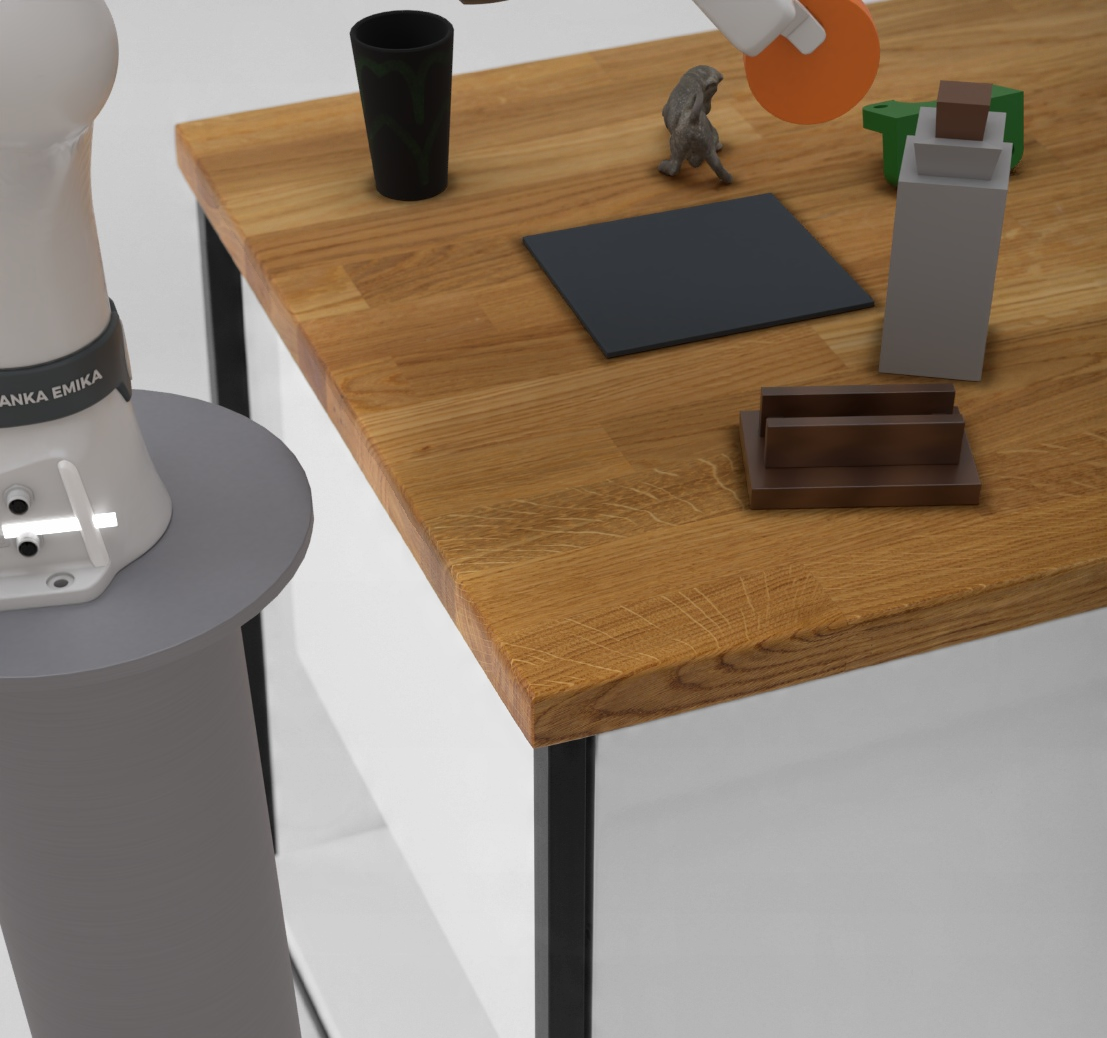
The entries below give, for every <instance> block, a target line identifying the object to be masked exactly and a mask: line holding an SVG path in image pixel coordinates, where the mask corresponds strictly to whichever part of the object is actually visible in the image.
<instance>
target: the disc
mask: <svg viewBox="0 0 1107 1038" xmlns="http://www.w3.org/2000/svg"><path fill="white" fill-rule="evenodd" d="M798 1H799V2H800V3H801V4H802V5H803V6H804V7H806V6H807V7H808V8H809V9H810V10H811V11H812V12H813V13H814V14H815V15H816V17H817V18H819V20H820V21H821V22H822V23H823V26H824V29H825V33H826V38H825V40H824V42H823V43H822V44H820V45H819V46H818V47H817V48H816V49H815V50H814V51H813V52H812V53H811V54H807V55H805V54H802V53H801V52H800V51H799V50H798V49H797V48H796V47H795V46H794V45H793V44H792V43H791V42H790V41H789V40H788V39H787V38H786V37H784V36H782V35H781V34H780V35H779V36H778V37H777V38H776V39H775V40H774V41H773V42H772V43H771V44H769V45H768V46H767V47H766V48H765V49H764V50H763V51H762V52H761V53H759V54H758V55H757V56H754V57H750V56H748V55H746V54H744V53H742V60H743V67H744V72H745V77H746V81H747V85H748V87H749V89H750V92H751V94H752V96H753V97H754V98H755V101H756V102H758V104H759V105H760V107H761V108H763V110H765V111H766V112H767V113H768V114H770V115H772V116H773V117H775V118H777V119H779V120H781V121H783V122H786V123H789V124H795V125H805V126H811V125H820V124H824V123H828V122H832V121H834V120H836V119H838V118H840V117H842V116H843V115H845V114H847V113H848V112H850V111H851V110H852V109H853V108H854V107H856V106H857V105H858V104H859V103H860V102H861V101H862V100H863V99H864V98H865V96H866V95H867V94H868V92H869V90H870V89H871V87H872V85H873V84H874V82H875V79H876V76H877V74H878V71H879V67H880V62H881V61H880V60H881V43H880V39H879V35H878V30H877V27H876V24H875V21H874V18H873V16H872V14H871V12H870V10H869V8H868V6H867V4H865V2H864V1H863V0H798Z"/></svg>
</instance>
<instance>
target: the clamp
mask: <svg viewBox="0 0 1107 1038" xmlns="http://www.w3.org/2000/svg"><path fill="white" fill-rule="evenodd" d="M992 84H993V83H992ZM1024 92H1025V91H1024V90H1020V89H1016V88H1012V87H1007V86H1003V85H999V84H998V85H997V84H993V86H992V94H991V101H990V108H989V112H1003V113H1006V120H1005V129H1004V137H1003V142H1006V143H1013V145H1012V155H1011V164H1010V170H1011V169H1014V168H1015V167H1016V166H1017V165H1018V164H1019V163H1020V161H1022V158H1023V155H1024V150H1025V106H1024V105H1025V93H1024ZM936 105H937V99H936V100H930V101H918V102H917V101H916V102H905V101H904V102H903V101H898V100H895V99H890V100H885V101H880V102H876V103H871V104H867V105H864V106H863V107H862V109H861V111H862V128H863V129H865V130H868V131H872V132H876V133H879V134H881V136H882V137H881V138H882V164H883V166H882V167H883V176H884V179H885V180H886V182H887V183H888V184H889V185H890V186H893V187H896V188H898V181H899V175H900V170H901V165H902V160H903V154H904V149H905V144H906V139H907V135H911V136H915V134H916V128H917V123H918V118H919V112H920V107H933V108H936Z"/></svg>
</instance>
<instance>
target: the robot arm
mask: <svg viewBox="0 0 1107 1038" xmlns="http://www.w3.org/2000/svg"><path fill="white" fill-rule="evenodd" d="M458 1H459V2H460V3H461V4H462V5H463V6H469V5H470V6H471V5H477V6H478V5H488V4H495V3H497V4H498V3H502V2H508V0H458ZM691 1H692V2H693V3H694V4H695V5H696V7H697V8H698V9H700V11H701V12H702V13H703V14H704V15H705V16H706V18H707V19H708V20H709V21H710V22H711V23H712V24H713V25H714V27H716V29H717V30H718V31H719V32H720V33H721V34H722V35H723V36H724V37H725V38H726V39H727V41H728V42H729V43H730V44H731V45H732V46H733V47H734V48H735V49H737V51H739V52H741V53H742V54H743V53H744V54H746V55H748V56H750V57H754V56H757V55H758V54H759V53H761V52H762V51H763V50H764V49H765V48H766V47H767V46H768V45H769V44H771V43H772V42H773V41H774V40H775V39H776V38H777V37H778V36H779V35H780V34H781V35H782V36H784V37H786V38H787V39H788V40H789V41H790V42H791V43H792V44H793V45H794V46H795V47H796V48H797V49H798V50H799V51H800V52H801V53H802V54H805V55H807V54H811V53H812V52H813V51H814V50H815V49H816V48H817V47H818V46H819V45H820V44H822V43H823V42H824V40H825V38H826V33H825V29H824V26H823V23H822V22H821V21H820V20H819V18H817V17H816V15H815V14H814V13H813V12H812V11H811V10H810V9H809V8H808V7H807V6H806V7H804V6H803V5H802V4H801V3H800V2H799V1H798V0H691ZM114 20H115V19H114V17H113V15H112V13H111V11H110V8H109V7H108V5H107V2H106V1H105V0H0V612H1V611H11V610H22V609H32V608H42V607H53V606H63V605H73V604H82V603H87V602H90V601H93V600H95V599H96V598H98V597H99V596H100V595H101V594H102V593H103V592H104V591H105V590H106V588H107V587H108V586H109V584H110V583H111V581H112V580H113V578H114V577H115V575H116V574H117V573H118V572H119V571H120V570H121V569H123V568H124V567H125V566H127V565H128V564H130V563H131V562H133V561H134V560H136V559H137V558H139V557H140V556H142V555H143V554H144V553H146V552H147V551H148V550H149V549H150V548H151V547H152V546H153V545H155V544H156V542H157V541H158V540H159V539H160V538H161V537H162V535H163V534H164V532H165V531H166V529H167V527H168V525H169V523H170V520H171V516H172V501H171V497H170V495H169V492H168V491H167V489H166V487H165V485H164V484H163V482H162V480H161V478H160V476H159V474H158V472H157V470H156V469H155V466H154V464H153V462H152V459H151V457H150V455H149V452H148V450H147V447H146V444H145V442H144V439H143V436H142V434H141V431H140V428H139V425H138V422H137V418H136V415H135V412H134V409H133V406H132V402H131V397H132V389H133V386H132V381H133V373H132V366H131V360H130V354H129V349H128V344H127V343H128V342H127V338H126V334H125V333H126V332H125V328H124V324H123V321H122V319H121V318H120V315H119V313H118V310H117V308H116V307H117V306H116V304H115V302H114V300H113V299H112V298H111V297H110V296H109V292H108V286H107V280H106V275H105V269H104V262H103V257H102V252H101V251H102V250H101V246H100V238H99V233H98V227H97V221H96V216H95V209H94V202H93V201H94V200H93V190H92V151H93V150H92V149H93V137H94V125H95V120H96V119H97V117H98V116H99V115H100V113H101V112H102V110H103V109H104V107H105V105H106V104H107V102H108V100H109V98H110V96H111V94H112V91H113V89H114V86H115V82H116V78H117V75H118V68H119V60H120V59H119V58H120V56H119V55H120V49H119V47H120V46H119V38H118V37H119V36H118V31H117V28H116V24H115V21H114Z"/></svg>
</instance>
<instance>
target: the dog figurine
mask: <svg viewBox="0 0 1107 1038" xmlns="http://www.w3.org/2000/svg"><path fill="white" fill-rule="evenodd" d="M723 80H724V75H723V73H721V72H719V71H718V69H717V68H715V67H713V66H710V65H705V64H700V65H696V66H693V67H691V68H690V69H688V70H687V71H686V72H685V73H683V75H682V76H681V77H680V78H679V82H678V83H677V84H676V86H674V88H673V89H672V91H671V92H670V94H669V96H668V98H667V101H666V103H665V104H664V105H663V108H662V109H661V110H662V111H661V116H662V117H663V122H664V125H665V128H666V129H667V131H668V132H669V135H670V137H669V140H668V142H669V149H670V150H669V151H670V157H669V159H663V160H662V161H661V162H659V164H658V167H657V170H658V171H659V172H661V173H664V174H665V175H666V176H668V175H669V176H671V177H674V176H675V175H678V174H679V172H680V170H681V168H682V165H683V163H684V162H685V161H687V162H688V164H689V165H690V166H691V167H692V168H693V169H698V168H700V167H701V166H702V164H703V161H704V160H705V161H706V163H707V164H708V166H709V167H710V169H711V170H712V171H713V172H714V173H715V175H716V177H717V178H718V179H719V180H720V181H721V182H723V183H724V184H731V183H732V182H733V181H734V178H733V174H731V173H730V172H729V171H728V170H727V169H726V168H725V167H724V166H723V164H722V161H721V159H720V158H719V156H718V153H717V151H720V150H721V149H722V148H723V144H722V143H721V142H720V139H719V138H720V136H719V132H718V130H717V128H716V127H715V126H714V125H713V124H712V122H711V121H710V119H709V117H708V116H707V115H709V114H710V112H711V111H712V98H713V97H714V95H715V94H717V92H718V85H719V84H720V83H721V82H722V81H723Z"/></svg>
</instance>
